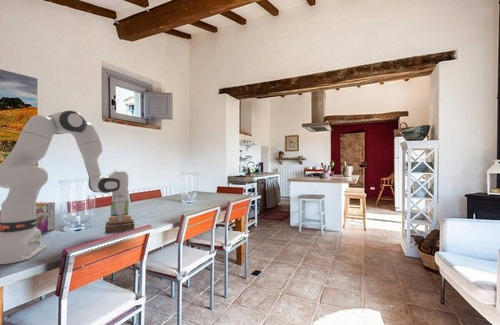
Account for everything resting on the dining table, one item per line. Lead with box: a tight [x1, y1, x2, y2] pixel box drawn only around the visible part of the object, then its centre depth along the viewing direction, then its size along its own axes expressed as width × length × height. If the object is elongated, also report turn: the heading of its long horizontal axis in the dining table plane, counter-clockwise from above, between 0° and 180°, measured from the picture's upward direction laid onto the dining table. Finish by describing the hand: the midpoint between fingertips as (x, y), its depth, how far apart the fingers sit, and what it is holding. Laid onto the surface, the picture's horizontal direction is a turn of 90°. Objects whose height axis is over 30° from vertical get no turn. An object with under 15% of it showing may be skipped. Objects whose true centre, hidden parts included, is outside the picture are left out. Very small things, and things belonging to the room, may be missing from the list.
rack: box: [104, 218, 135, 234], centre depth 145 cm, size 12×15×4 cm
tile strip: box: [108, 214, 132, 224], centre depth 147 cm, size 2×12×6 cm, turn 119°
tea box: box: [110, 197, 130, 217], centre depth 165 cm, size 15×10×15 cm, turn 24°
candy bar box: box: [35, 201, 56, 232], centre depth 140 cm, size 11×5×16 cm, turn 84°
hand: (120, 219), depth 147 cm, fingers open, 8 cm apart
